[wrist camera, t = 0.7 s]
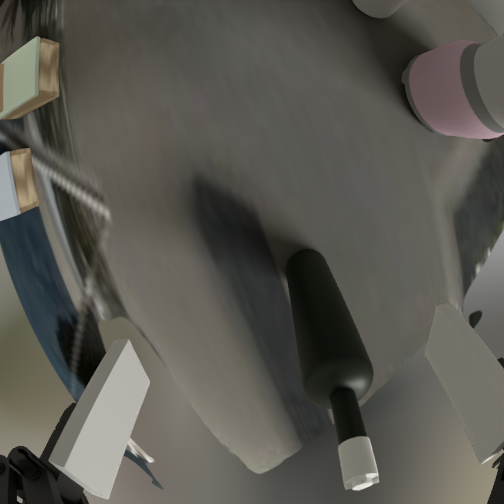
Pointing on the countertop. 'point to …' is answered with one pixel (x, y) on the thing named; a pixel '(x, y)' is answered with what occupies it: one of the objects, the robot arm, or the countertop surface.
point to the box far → (24, 179)
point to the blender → (459, 88)
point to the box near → (43, 79)
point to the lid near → (19, 77)
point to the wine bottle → (332, 361)
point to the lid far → (7, 189)
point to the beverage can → (379, 7)
